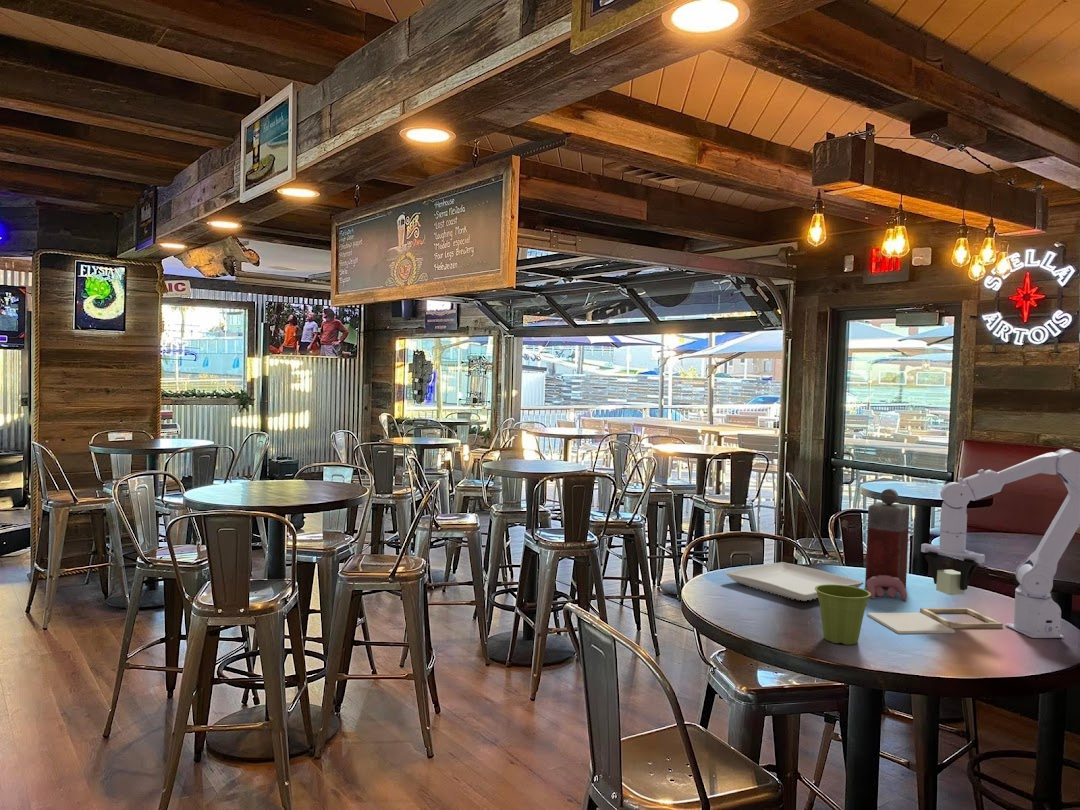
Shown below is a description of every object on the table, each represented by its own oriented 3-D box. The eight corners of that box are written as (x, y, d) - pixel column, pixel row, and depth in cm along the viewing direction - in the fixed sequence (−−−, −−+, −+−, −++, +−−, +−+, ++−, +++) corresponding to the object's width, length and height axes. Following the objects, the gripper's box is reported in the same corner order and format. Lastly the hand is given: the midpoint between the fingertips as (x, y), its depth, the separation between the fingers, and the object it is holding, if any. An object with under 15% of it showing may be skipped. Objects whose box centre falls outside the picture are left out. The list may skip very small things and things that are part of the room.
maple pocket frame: (1002, 627, 190) (1002, 623, 190) (951, 628, 189) (951, 624, 189) (967, 611, 203) (968, 607, 203) (920, 611, 202) (920, 608, 202)
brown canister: (908, 584, 229) (912, 488, 228) (898, 592, 220) (902, 492, 219) (876, 579, 235) (880, 485, 234) (864, 586, 226) (868, 488, 225)
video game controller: (903, 603, 215) (900, 577, 218) (909, 600, 211) (906, 574, 214) (865, 601, 216) (863, 576, 219) (871, 598, 212) (868, 572, 215)
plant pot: (876, 640, 179) (878, 590, 178) (857, 653, 170) (859, 601, 169) (825, 628, 186) (826, 580, 186) (804, 639, 178) (806, 590, 177)
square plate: (805, 608, 204) (806, 593, 204) (722, 584, 226) (723, 571, 225) (864, 593, 220) (865, 579, 220) (781, 572, 242) (782, 559, 242)
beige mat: (954, 633, 185) (954, 630, 185) (898, 633, 184) (898, 630, 184) (920, 614, 199) (920, 612, 199) (867, 615, 198) (867, 612, 198)
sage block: (964, 594, 193) (965, 574, 193) (949, 594, 192) (950, 574, 192) (951, 589, 197) (952, 569, 197) (936, 590, 196) (937, 570, 196)
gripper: (991, 535, 191) (988, 591, 191) (931, 525, 202) (929, 577, 203) (978, 538, 187) (975, 595, 187) (917, 527, 198) (915, 581, 199)
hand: (950, 586), depth 195 cm, fingers closed on sage block, 6 cm apart
